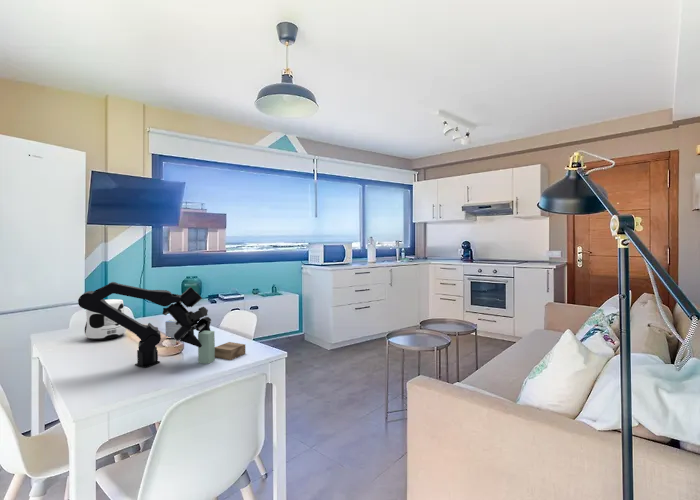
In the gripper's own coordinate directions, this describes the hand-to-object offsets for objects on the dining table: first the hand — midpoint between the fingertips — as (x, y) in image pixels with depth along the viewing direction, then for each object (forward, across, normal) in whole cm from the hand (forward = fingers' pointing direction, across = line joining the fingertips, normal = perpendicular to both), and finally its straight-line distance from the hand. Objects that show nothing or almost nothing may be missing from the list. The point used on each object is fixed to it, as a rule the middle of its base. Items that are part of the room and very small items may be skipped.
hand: (207, 343), depth 149 cm
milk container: (-44, +25, +54) cm, 74 cm away
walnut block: (+9, +9, +2) cm, 13 cm away
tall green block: (+5, 0, +6) cm, 7 cm away
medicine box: (-19, +30, +30) cm, 46 cm away
